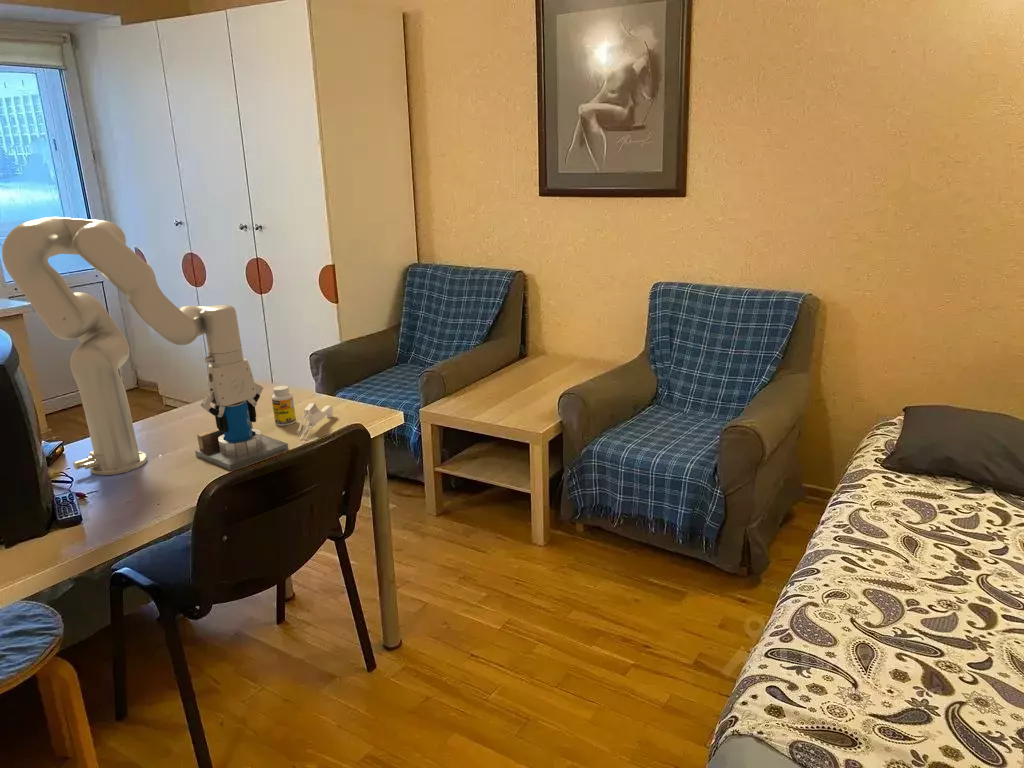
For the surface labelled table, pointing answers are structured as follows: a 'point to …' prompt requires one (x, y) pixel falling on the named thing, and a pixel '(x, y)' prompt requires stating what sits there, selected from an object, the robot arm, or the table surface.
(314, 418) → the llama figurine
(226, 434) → the beverage can
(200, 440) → the jig
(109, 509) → the table surface
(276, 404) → the supplement bottle
